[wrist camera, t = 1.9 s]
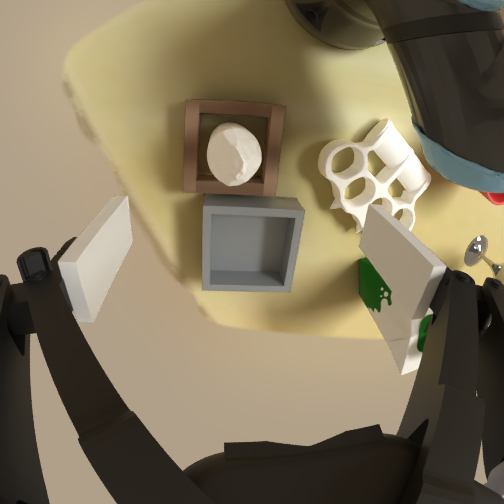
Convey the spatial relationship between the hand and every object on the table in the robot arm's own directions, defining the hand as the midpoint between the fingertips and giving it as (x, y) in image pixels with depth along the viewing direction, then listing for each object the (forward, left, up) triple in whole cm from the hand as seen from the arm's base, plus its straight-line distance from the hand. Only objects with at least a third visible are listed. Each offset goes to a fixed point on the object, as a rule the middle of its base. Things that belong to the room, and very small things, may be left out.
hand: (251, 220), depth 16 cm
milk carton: (+18, +25, -23) cm, 38 cm away
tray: (+12, +3, -23) cm, 26 cm away
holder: (0, 0, -23) cm, 23 cm away
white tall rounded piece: (0, 0, -23) cm, 23 cm away
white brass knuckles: (+3, +20, -23) cm, 30 cm away
